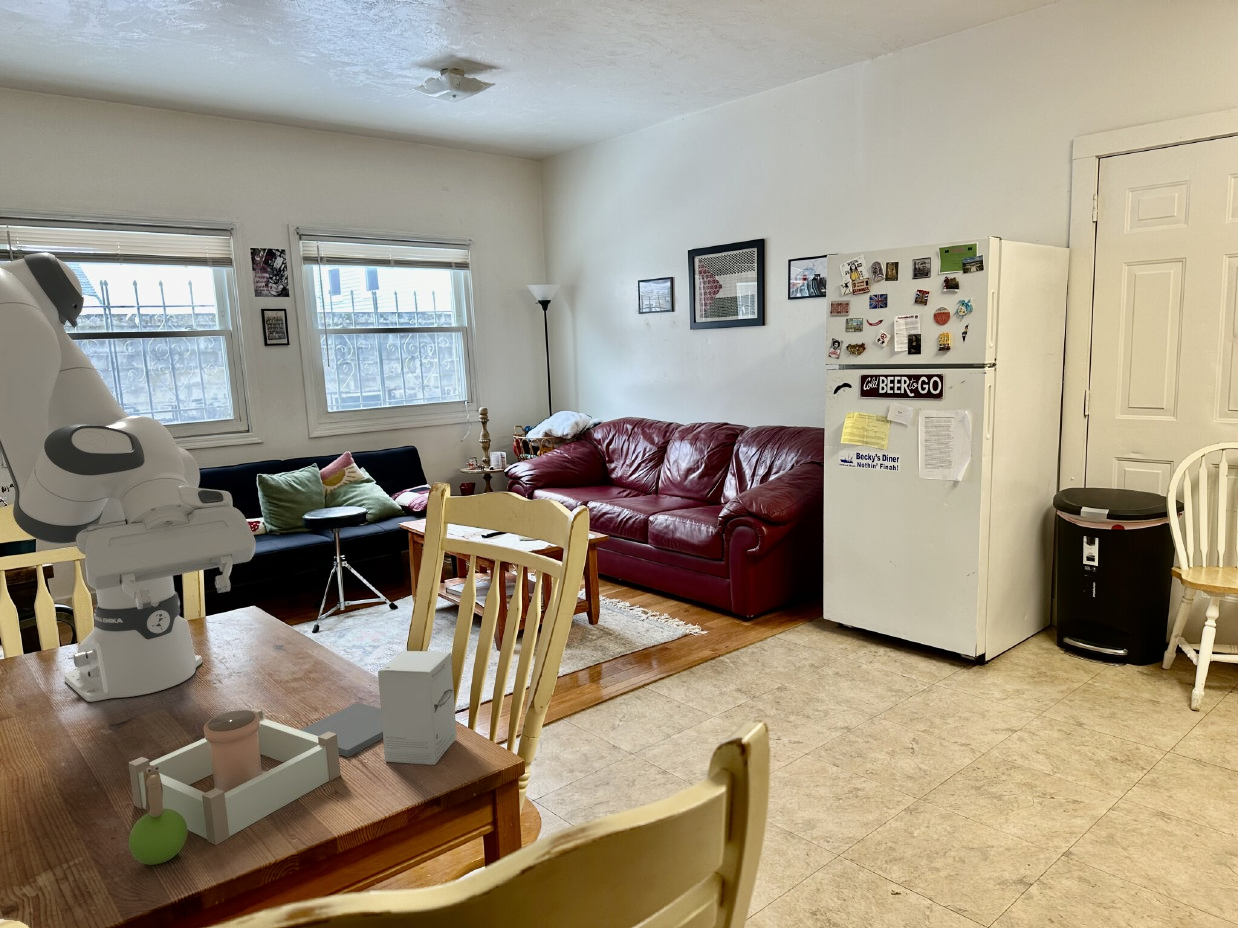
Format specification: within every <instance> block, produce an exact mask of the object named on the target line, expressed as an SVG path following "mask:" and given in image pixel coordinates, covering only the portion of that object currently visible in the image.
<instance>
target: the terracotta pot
mask: <svg viewBox="0 0 1238 928" xmlns="http://www.w3.org/2000/svg"><path fill="white" fill-rule="evenodd" d="M202 728H203V733H204V734H203V735H204V738H205V739H206V740H207V741H209V746H210V754H211V762H212V770H213V774H212V777H213V784H214V788H217V789H220V790H222V791H224V793H226V792H228V791H230V790H232V789H234V788H236V787H238V786H240V785H242V784H244V783H245V782H247V781H249V780H251V779H253V778H255V777H257V776H259V775H261V774H263V767H262V766H263V765H262V757H261V754H260V748H259V739H258V731H257V730H258V729H259V728H260V717H259V714H258V713H257V712H255V711H252V710H251V709H239V710H233V711H228V712H225V713H221V714H219V715H216V716H214V717H213V718H211V719H209V720H208V721H206V722H205V723H204V725H203V727H202Z"/></svg>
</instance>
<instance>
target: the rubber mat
mask: <svg viewBox="0 0 1238 928" xmlns="http://www.w3.org/2000/svg"><path fill="white" fill-rule="evenodd" d="M299 730H300V731H303V732H306V733H310V734H313V735H316V736H320V735H322V734H324V733H326V732H328V731H329V732H332V733H335V734H337V741H338V752H339V756H344V757H347V758H350V757H351V756H353V755H355V754H357V753H359V752H360V751H362V750H364V749H366V748H369V747H370V746H371V745H373V744H375V743H377V742H379V741H381V740H383V728H382V716H381V708H379V707H375V706H372V705H369V704H365V703H361V702H355V703H353V704H351V705H349V706H346V707H345V708H342V709H340V710H338V711H336V712H333V713H331V714H330V715H327V716H326V717H323V718H322V719H320V720H317V721H315V722H312V724H309V725H307V726H305V727H303V728H301V729H299Z"/></svg>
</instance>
